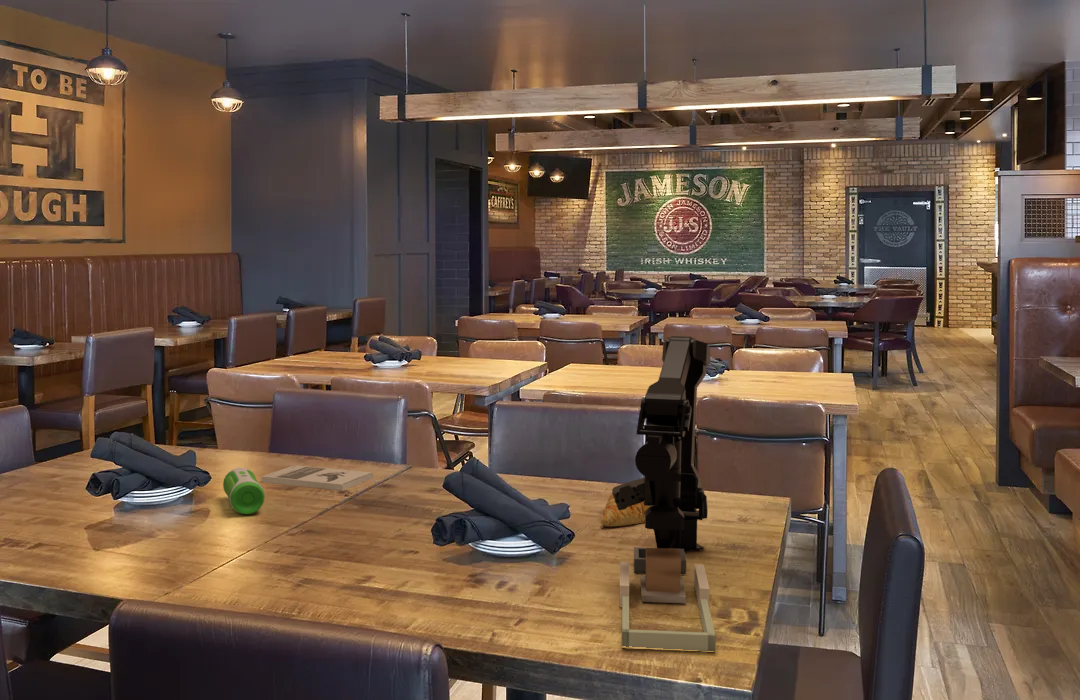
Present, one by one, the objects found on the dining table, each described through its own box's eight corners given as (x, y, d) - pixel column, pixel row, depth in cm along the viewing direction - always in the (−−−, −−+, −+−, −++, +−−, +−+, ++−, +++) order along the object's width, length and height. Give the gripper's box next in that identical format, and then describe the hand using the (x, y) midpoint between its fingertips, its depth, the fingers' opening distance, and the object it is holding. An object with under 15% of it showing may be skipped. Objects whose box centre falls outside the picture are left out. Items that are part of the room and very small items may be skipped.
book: (261, 484, 237) (261, 476, 237) (295, 472, 250) (294, 465, 249) (342, 492, 228) (342, 484, 228) (373, 480, 241) (373, 472, 241)
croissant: (615, 548, 196) (631, 517, 194) (577, 519, 201) (593, 488, 198) (662, 523, 214) (678, 494, 211) (627, 496, 218) (642, 467, 215)
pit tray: (633, 560, 177) (634, 547, 177) (683, 562, 177) (683, 548, 176) (634, 572, 170) (634, 559, 170) (685, 574, 170) (686, 560, 169)
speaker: (266, 515, 207) (265, 480, 206) (230, 518, 204) (230, 483, 203) (255, 496, 223) (255, 464, 222) (222, 499, 220) (221, 466, 219)
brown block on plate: (640, 580, 165) (641, 543, 165) (682, 582, 165) (682, 544, 164) (641, 601, 155) (642, 562, 155) (685, 603, 155) (686, 563, 154)
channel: (619, 581, 166) (620, 561, 165) (703, 584, 164) (703, 564, 164) (619, 607, 154) (619, 585, 153) (708, 610, 152) (709, 588, 152)
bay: (622, 611, 152) (622, 596, 151) (706, 615, 151) (706, 599, 150) (621, 649, 137) (622, 631, 137) (715, 652, 136) (715, 635, 136)
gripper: (616, 454, 173) (614, 539, 174) (614, 477, 154) (613, 572, 156) (679, 455, 172) (677, 541, 173) (685, 479, 153) (683, 575, 155)
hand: (661, 557), depth 164 cm, fingers closed
